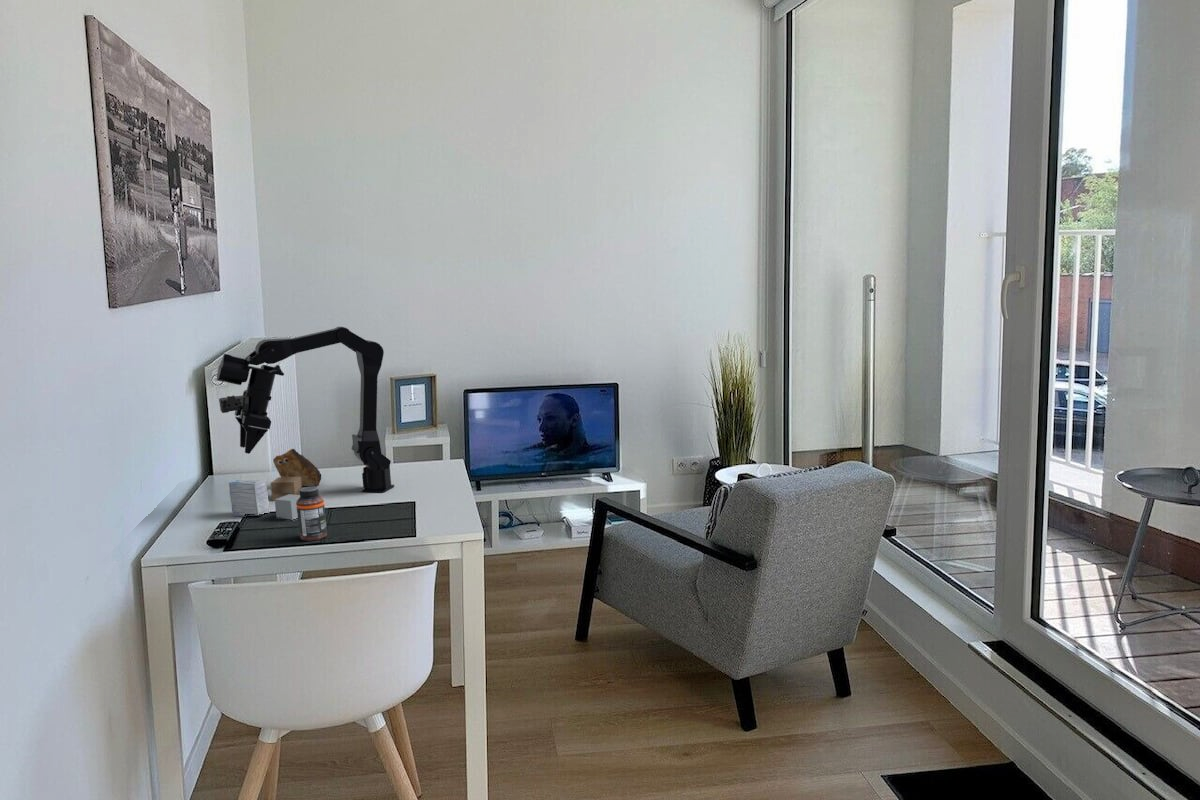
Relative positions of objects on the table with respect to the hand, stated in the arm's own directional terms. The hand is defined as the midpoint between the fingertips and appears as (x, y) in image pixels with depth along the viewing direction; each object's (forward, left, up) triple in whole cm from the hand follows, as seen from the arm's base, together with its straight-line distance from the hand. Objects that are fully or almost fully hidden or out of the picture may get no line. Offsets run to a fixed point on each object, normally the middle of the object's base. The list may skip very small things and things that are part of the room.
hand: (244, 450), depth 244 cm
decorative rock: (+1, -24, -16) cm, 28 cm away
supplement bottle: (-30, +20, -15) cm, 39 cm away
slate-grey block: (-15, +5, -15) cm, 22 cm away
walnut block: (-3, -12, -15) cm, 20 cm away
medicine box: (-3, +4, -16) cm, 16 cm away
